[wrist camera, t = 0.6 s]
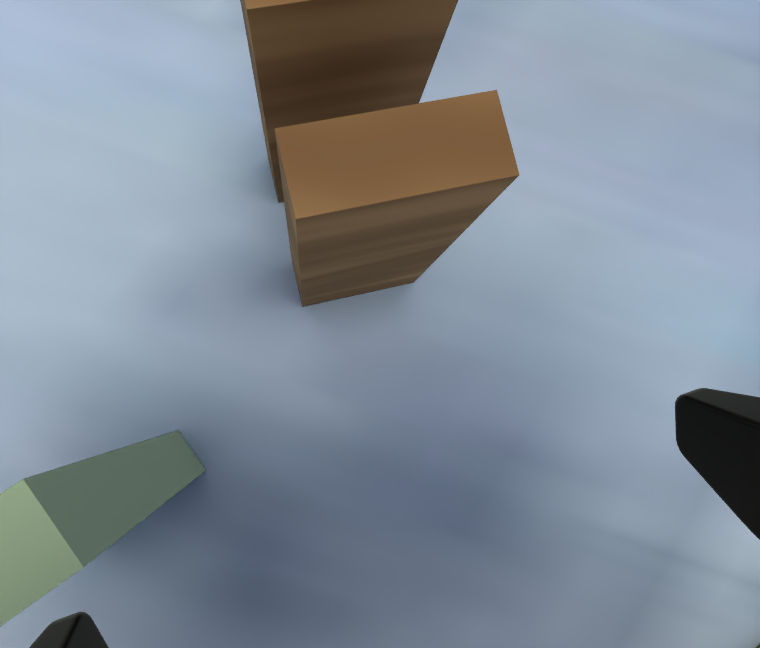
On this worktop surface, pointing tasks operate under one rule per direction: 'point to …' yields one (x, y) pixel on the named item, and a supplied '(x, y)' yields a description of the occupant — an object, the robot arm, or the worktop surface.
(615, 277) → the worktop surface
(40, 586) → the green domino
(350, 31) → the walnut domino end
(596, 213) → the worktop surface
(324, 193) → the walnut domino middle
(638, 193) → the worktop surface
